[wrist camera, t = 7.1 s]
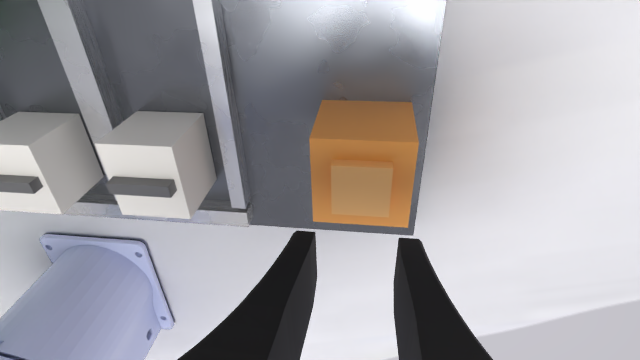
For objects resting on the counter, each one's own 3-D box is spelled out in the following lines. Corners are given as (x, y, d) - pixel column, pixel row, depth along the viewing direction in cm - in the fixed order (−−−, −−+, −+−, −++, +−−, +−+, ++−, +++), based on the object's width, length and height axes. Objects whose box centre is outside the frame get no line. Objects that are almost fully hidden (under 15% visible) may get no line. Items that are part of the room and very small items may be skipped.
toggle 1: (103, 176, 23) (54, 221, 19) (48, 173, 23) (-10, 217, 20) (78, 113, 21) (17, 152, 17) (18, 111, 21) (-53, 148, 18)
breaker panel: (411, 222, 23) (414, 247, 21) (50, 199, 26) (26, 220, 24) (461, -144, 14) (473, -154, 12) (-109, -115, 17) (-168, -120, 15)
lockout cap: (403, 178, 20) (408, 235, 17) (323, 174, 21) (311, 229, 17) (412, 102, 18) (420, 148, 14) (322, 99, 18) (307, 144, 15)
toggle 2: (216, 178, 22) (185, 227, 18) (156, 175, 22) (115, 222, 19) (203, 113, 20) (164, 153, 16) (137, 111, 20) (85, 150, 17)
